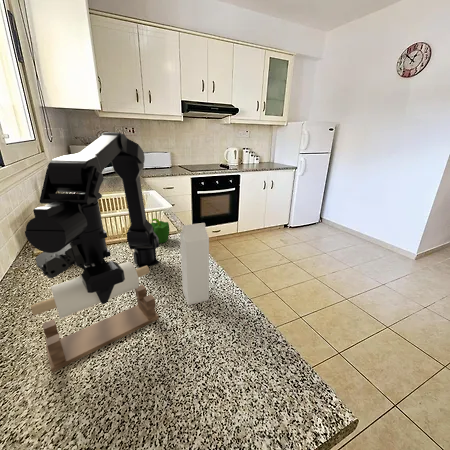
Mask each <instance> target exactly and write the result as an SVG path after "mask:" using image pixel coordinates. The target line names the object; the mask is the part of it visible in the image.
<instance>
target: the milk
mask: <svg viewBox="0 0 450 450" xmlns="http://www.w3.org/2000/svg"><path fill="white" fill-rule="evenodd" d="M181 228H182V231H181V232H179V239H180V240H179V242H180V258H181V259H180V260H181V262H180V263H181V280H182V281H181V282H182V283H181V284H182V293H183V296H184V298H185V300H186V303H187V305H188V306H191V305H194V304H198V303H203V302H206V301H209V300H210V237H209V234H208V232H207V229H206V223H205V222H201V223H192V224H185V225H184V224H183V225H182V226H181Z"/></svg>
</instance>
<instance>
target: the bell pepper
mask: <svg viewBox="0 0 450 450" xmlns="http://www.w3.org/2000/svg"><path fill="white" fill-rule="evenodd" d="M151 220H152V222H150V224H151V225H152V226H153V230H154V233H155V234H156V235H157V237H158V238H159V244H164V243H166V242H168V240H169V237H170V232H171V231H170V223H169V222H168V221H163V220H159V219H157V218H155V217H154V218H152V219H151ZM155 221H156V222H155Z"/></svg>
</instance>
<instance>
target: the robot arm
mask: <svg viewBox="0 0 450 450" xmlns="http://www.w3.org/2000/svg"><path fill="white" fill-rule="evenodd" d="M110 163H111V166H112V169H113V171H114V172H115V173H116V175H117V176H119V178H120V179H121V180H122V184H123V192H124V195H125V200H126V206H127V211H128V214H129V221H130V226H129V228H128V230H127V232H126V242H127V244H128V248H129V250H134V251H133V253H132V254H133V263H134V264H135V265H136V266H137V267H138V268H141V267H144V266H148V268H149V267H151V266H154V265H157V264H159V263H160V261H159V260H158V259H157V249H158V248H160V243H159V238H158V237H157V235H156V234H155V233H154V230H153V226H152V225H151V222H150V221H148V220H147V214H146V210H145V209H146V208H145V201H144V196H143V190H142V183H141V178H140V176H141V174H142V172H143V169H144V167H145V165H144V163H145V152H144V150H143V148H142V147H141V146H140V144H138V143H137V142H135V141H133V140H131V139H129V138H128V137H127V136H126V135H125V134H124V133H122V132H118V131H117V132H115V131H114V132H113V131H111V132H110V131H109V132H108V131H104V132H102V133H100V134H99V137H98V138H97V139H95V140H94V141H93V142H91V143H90V144H88V145H87V146H86V147H84V149H82V150H81V151H79V152H77V153H72V154H66V155H61V156H59V157H56V158H52V159H51V161H49V163H48V164H47V168H46V169H45V175H44V179H43V182H42V183H43V184H42V188H41V193H40V197H39V204H42V206H38V207H36V208H33V210H32V212H33V216H34V217H33V218H31V219H30V220H29V221H28V222H27V224H26V226H25V231H24V236H25V238H26V240H27V241H28V242H29V244H30V245H31V246H32V247H33V248H35V249H36V250H38V251H41V253H40V254H37V256H36V257H35V263H36V266H37V267H38V268H39V270H41V272H42V274H43V276H47V278H48V279H54V278H56V277H57V276H60V275H61V274H63V273H64V272H66V271H67V270H69V268H70V267H72V266H73V265H74V266H75V267H77V268H81V269H82V270H83V272H82V273H81V274H80V275H81V276H80V277H82V280H83V281H82V282H83V284H84V286H85V288H86V290H87V292H88V293H94V292H96V294H97V296H98V298H99V300H100V302H101V303H100V304H101V305H105V304H107V303H108V302H109V300H110V299H109V297H110V295H111V292H112V290H113V287H114V285H115V284H118V283H121V282H123V281H124V280H125V276H124V271H123V269H122V268H121V267H120V266H119V265H120V264H119V263H118V262H115V261H113V260H110V261H106V260H105V258H108V257H111V256H112V255H111V251H110V249H108V248H107V241H106V238H108V232H107V231H106V230H105V229H104V225H103V220H102V219H103V218H102V214H101V207H100V203H99V200H100V199H102V197H103V195H102V194H101V193H100V192H99V191H100V188H101V185H102V184H103V182H104V180H105V177H104V175H103V171H104V170H105V169H106V167H107V166H108V165H110ZM44 204H45V205H44ZM43 205H44V206H43Z"/></svg>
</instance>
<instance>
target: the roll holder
mask: <svg viewBox="0 0 450 450" xmlns="http://www.w3.org/2000/svg"><path fill="white" fill-rule="evenodd" d="M134 291H135V297H136V303H137V304H136V305H135V306H131V307H129V308H128V309H125V310H123V311H120V312H118V313H116V314H114V315H111V316H109V317H107V318H104V319H103V320H100V321H98V322H95V323H94V324H91V325H89V326H87V327H84V328H81V329H80V330H77V331H75V332H73V333H70V334H68V335H66V336H63V337H60V334H59V331H58V327H57V323H56V321H55V319H54V318H53V319H50V320H48V321H46V322H44V323H41V325H42V328H43V333H44V335H45V343H46V346H45V347H46V352H47V356H48V362H49V366H50V367H49V368H50V371H51V374H52V373H54V372H56V371H59V370H60V369H62V368H64V367H66V366H68V365H70V364H73V363H74V362H76V361H78V360H80V359H82V358H84V357H86V356H88V355H90V354H92V353H94V352H96V351H98V350H100V349H102V348H104V347H106V346H108V345H110V344H112V343H114V342H117V341H119V340H120V339H122V338H124V337H126V336H128V335H130V334H132V333H134V332H136V331H137V330H140V329H142V328H144V327H146V326H148V325H150V324H152V323H153V322H155V321H158V320H159V319H160V317H159V315H158V313H157V312H156V298H155V296H153V294H148V295H147V288H146V287H145V286H144V284H139V287H138V288H137V289H134Z"/></svg>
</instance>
